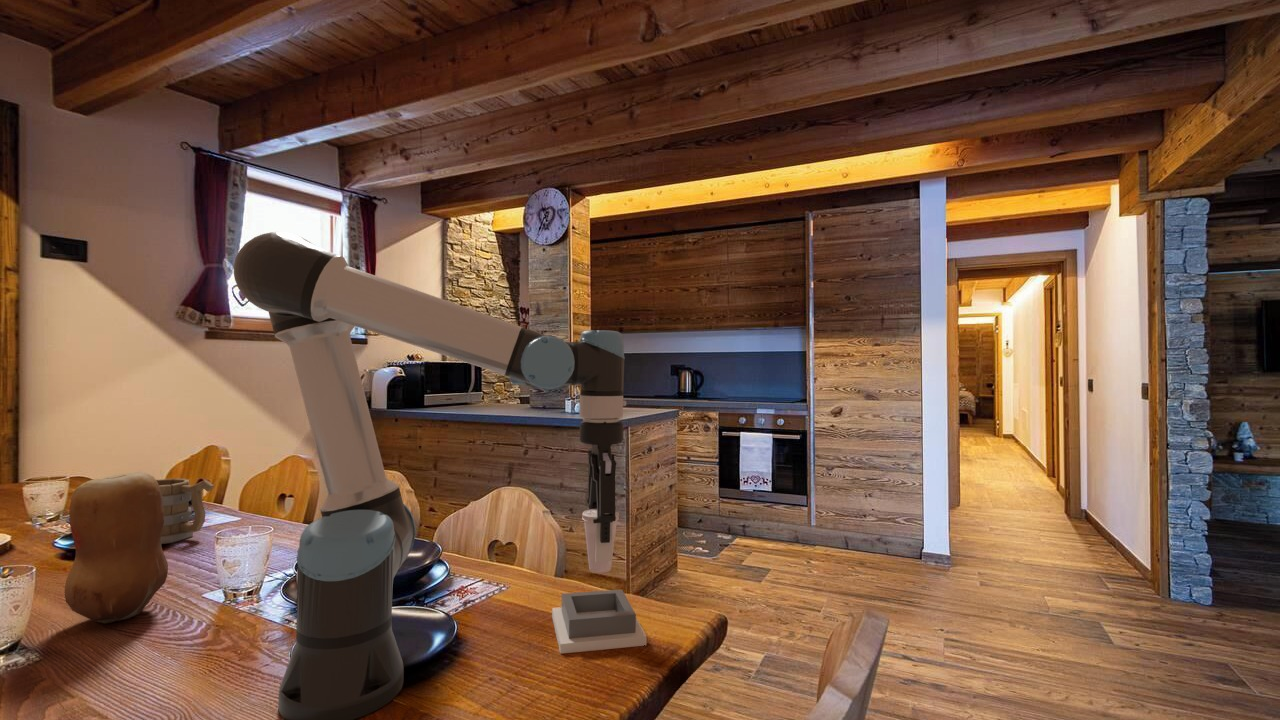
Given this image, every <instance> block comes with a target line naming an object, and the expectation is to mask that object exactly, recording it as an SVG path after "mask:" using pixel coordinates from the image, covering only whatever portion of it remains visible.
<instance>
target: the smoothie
mask: <svg viewBox="0 0 1280 720" xmlns="http://www.w3.org/2000/svg"><path fill="white" fill-rule="evenodd" d="M615 516H616V519H615V521H613V522H612V557H613V555H614V554H613V553H614V547H615V546H614V545H615V540H616V539H615V538H616V530H617V525H618V524H617V523H618V521H619V519H620V517H619V516H620V512H619V511H618V510H616V509H615ZM581 519H582V521H584V522H583V523H584V525H583V526H584V532H585V534H584V535H585V542H586V551H587V560H588V568H589V571H590V572H591V573H596V574H600V573H601V574H603V573H607V572H610V571H611V569H612V563H613V560H612V561H604V562H596V561H595V538H596V523H593V520H594V519H597V509H590V510H589V509H587V510H584V511H583V512H582V517H581Z"/></svg>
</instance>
